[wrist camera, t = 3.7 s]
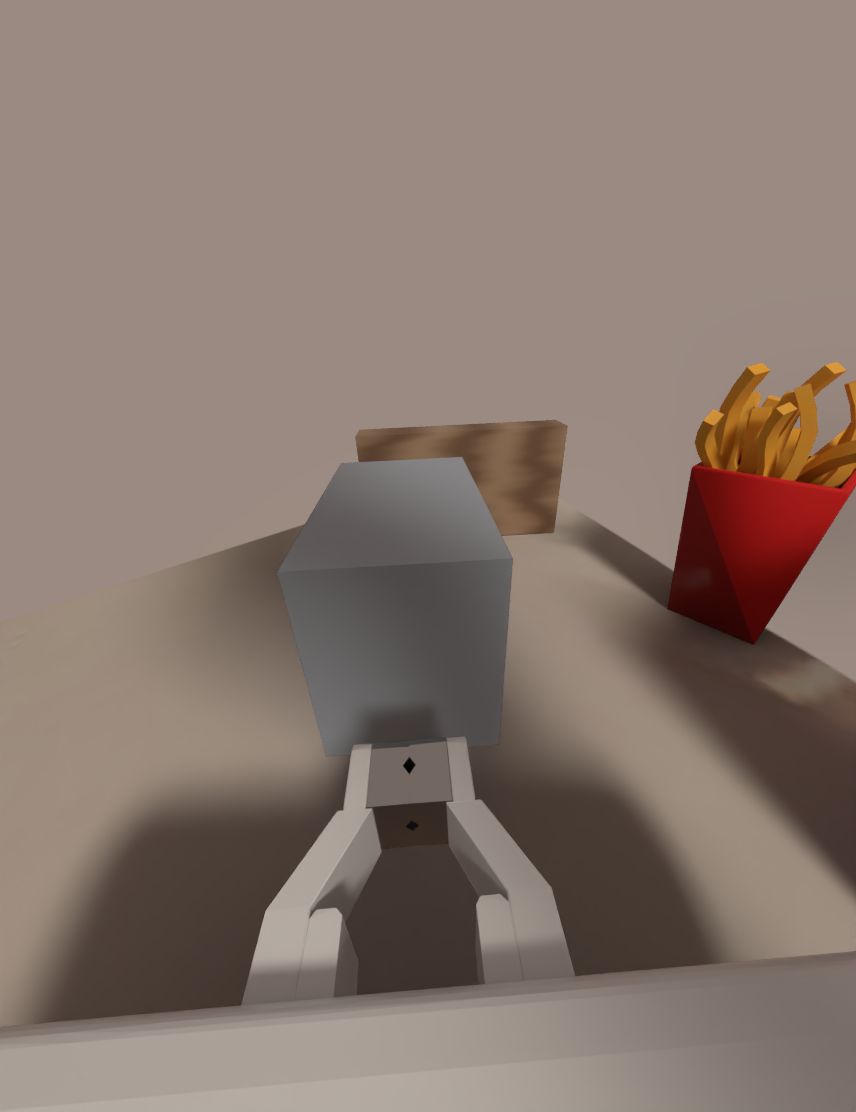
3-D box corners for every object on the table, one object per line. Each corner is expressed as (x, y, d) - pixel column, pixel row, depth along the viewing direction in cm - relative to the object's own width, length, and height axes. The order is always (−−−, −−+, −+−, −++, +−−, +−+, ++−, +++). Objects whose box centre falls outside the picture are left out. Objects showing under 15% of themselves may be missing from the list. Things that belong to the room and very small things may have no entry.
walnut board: (369, 542, 37) (355, 436, 32) (371, 529, 40) (359, 429, 35) (553, 532, 37) (567, 425, 33) (544, 520, 40) (555, 420, 35)
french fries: (685, 573, 30) (756, 357, 23) (829, 622, 24) (983, 355, 17) (631, 621, 25) (700, 366, 18) (794, 696, 19) (989, 368, 12)
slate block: (326, 757, 18) (277, 572, 13) (359, 590, 30) (341, 463, 25) (498, 746, 18) (512, 558, 13) (461, 584, 30) (462, 456, 25)
